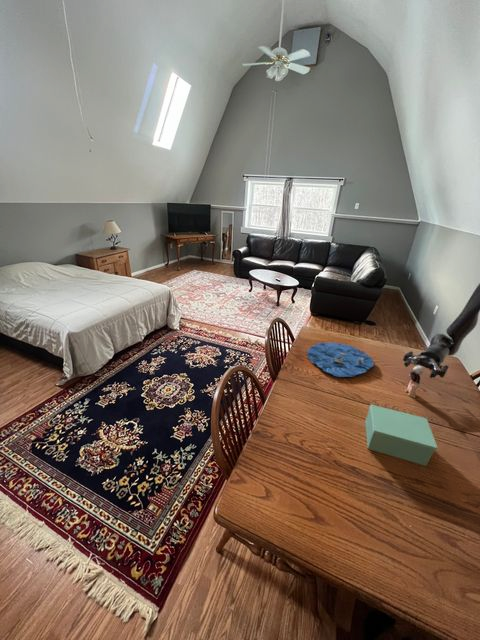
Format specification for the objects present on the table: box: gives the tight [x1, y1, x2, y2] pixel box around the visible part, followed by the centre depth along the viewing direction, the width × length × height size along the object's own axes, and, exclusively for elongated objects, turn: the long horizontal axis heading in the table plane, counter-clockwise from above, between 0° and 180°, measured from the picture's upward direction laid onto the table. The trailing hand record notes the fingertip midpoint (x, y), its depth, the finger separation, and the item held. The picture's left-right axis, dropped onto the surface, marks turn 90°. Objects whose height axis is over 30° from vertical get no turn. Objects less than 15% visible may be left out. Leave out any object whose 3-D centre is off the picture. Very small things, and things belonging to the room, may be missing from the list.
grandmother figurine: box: [404, 365, 425, 398], centre depth 103 cm, size 8×4×13 cm, turn 0°
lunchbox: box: [364, 407, 436, 467], centre depth 82 cm, size 16×12×7 cm
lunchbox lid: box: [369, 404, 439, 451], centre depth 81 cm, size 16×12×1 cm
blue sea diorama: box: [306, 341, 375, 378], centre depth 124 cm, size 30×30×5 cm
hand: (418, 370), depth 101 cm, fingers open, 8 cm apart
